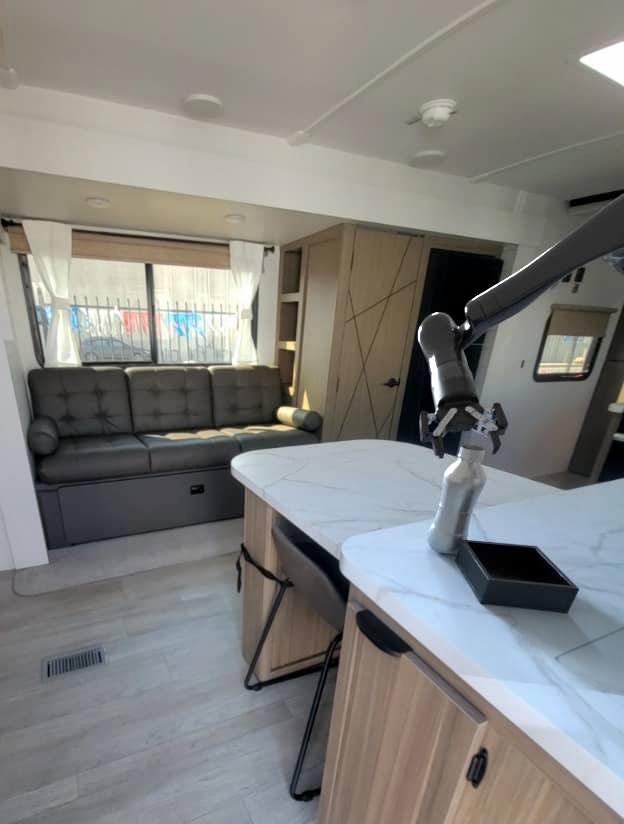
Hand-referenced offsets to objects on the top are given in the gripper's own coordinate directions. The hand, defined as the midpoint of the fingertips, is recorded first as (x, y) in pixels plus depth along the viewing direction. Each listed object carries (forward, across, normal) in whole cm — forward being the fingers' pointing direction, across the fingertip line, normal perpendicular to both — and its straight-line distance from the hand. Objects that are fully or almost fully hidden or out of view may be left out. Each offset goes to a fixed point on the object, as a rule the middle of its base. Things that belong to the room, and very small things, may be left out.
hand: (467, 453), depth 73 cm
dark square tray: (+22, -4, -8) cm, 23 cm away
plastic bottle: (+13, +4, -12) cm, 18 cm away
